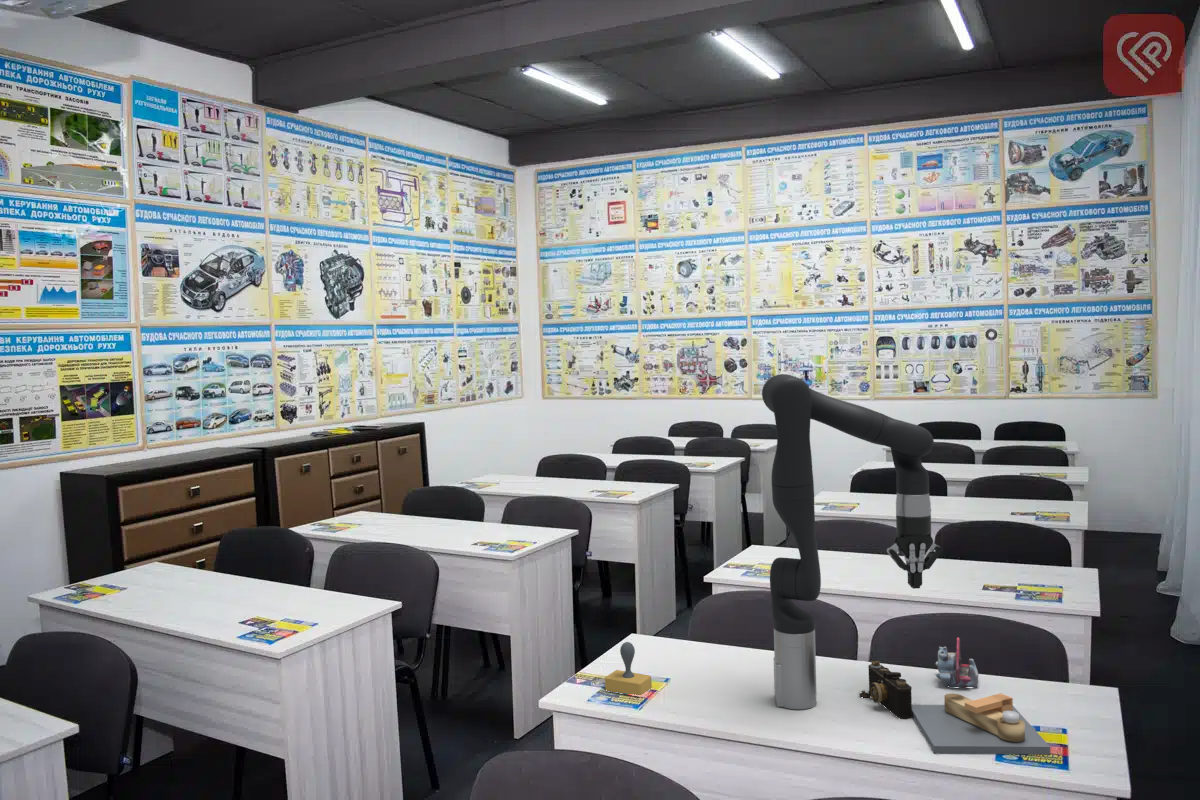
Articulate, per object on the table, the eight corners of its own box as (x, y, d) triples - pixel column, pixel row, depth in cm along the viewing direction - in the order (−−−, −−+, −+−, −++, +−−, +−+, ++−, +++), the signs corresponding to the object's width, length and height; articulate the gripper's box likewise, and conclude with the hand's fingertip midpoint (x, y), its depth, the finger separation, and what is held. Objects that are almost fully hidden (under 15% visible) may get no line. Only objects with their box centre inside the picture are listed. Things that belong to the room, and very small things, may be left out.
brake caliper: (989, 684, 208) (954, 640, 210) (949, 708, 211) (915, 665, 214) (989, 668, 218) (956, 626, 220) (950, 691, 222) (918, 650, 224)
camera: (855, 693, 212) (854, 660, 211) (881, 691, 213) (881, 657, 212) (887, 721, 195) (887, 685, 195) (916, 718, 196) (916, 682, 196)
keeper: (1001, 718, 191) (1000, 693, 191) (1013, 723, 188) (1012, 697, 188) (965, 728, 187) (964, 702, 186) (976, 734, 184) (976, 707, 184)
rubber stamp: (652, 690, 218) (650, 641, 218) (641, 698, 213) (639, 648, 213) (616, 684, 223) (614, 636, 223) (604, 692, 218) (603, 643, 218)
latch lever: (1030, 738, 180) (1030, 723, 180) (1012, 743, 178) (1011, 728, 178) (956, 705, 198) (956, 691, 198) (938, 709, 196) (938, 695, 196)
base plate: (934, 753, 179) (933, 721, 179) (908, 711, 200) (908, 682, 200) (1050, 754, 177) (1050, 721, 177) (1012, 711, 198) (1012, 682, 198)
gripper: (934, 508, 210) (936, 582, 211) (878, 511, 210) (880, 585, 210) (948, 514, 203) (950, 590, 204) (891, 517, 202) (893, 593, 203)
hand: (915, 587), depth 207 cm, fingers closed
